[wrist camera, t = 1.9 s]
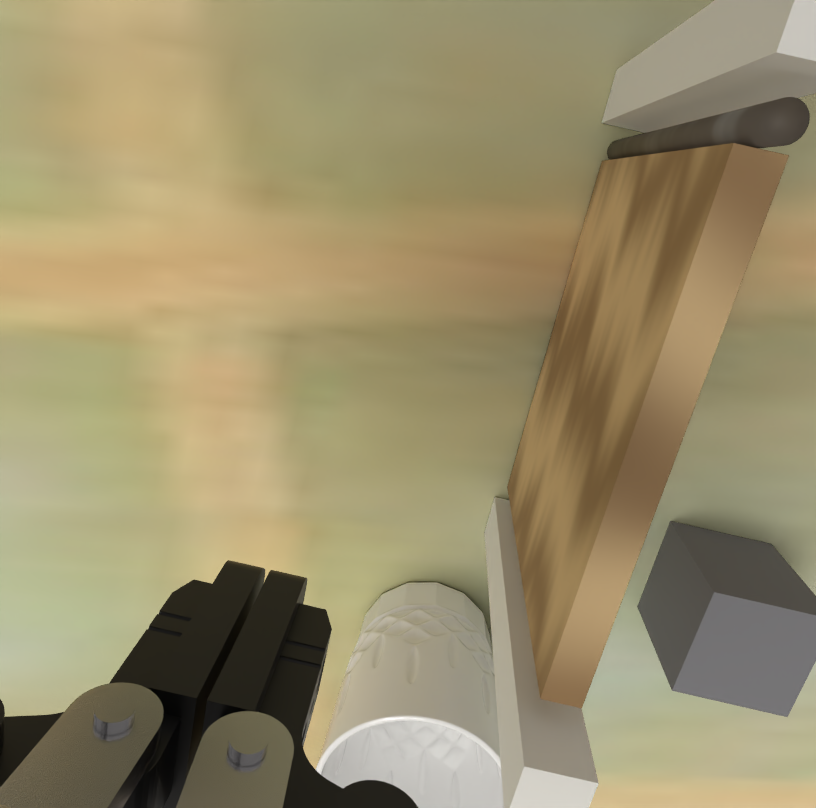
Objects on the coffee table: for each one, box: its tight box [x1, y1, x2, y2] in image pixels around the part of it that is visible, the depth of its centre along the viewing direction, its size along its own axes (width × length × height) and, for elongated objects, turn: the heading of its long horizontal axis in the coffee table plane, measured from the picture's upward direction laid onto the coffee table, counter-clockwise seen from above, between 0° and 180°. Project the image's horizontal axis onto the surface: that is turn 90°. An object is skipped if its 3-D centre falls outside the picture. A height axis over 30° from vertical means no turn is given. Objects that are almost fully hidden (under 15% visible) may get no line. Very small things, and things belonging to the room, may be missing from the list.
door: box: [507, 97, 809, 708], centre depth 23 cm, size 16×2×15 cm, turn 167°
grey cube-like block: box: [637, 521, 816, 717], centre depth 31 cm, size 5×5×6 cm
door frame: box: [484, 0, 816, 808], centre depth 23 cm, size 21×2×16 cm, turn 167°
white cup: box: [316, 582, 504, 808], centre depth 31 cm, size 8×8×10 cm
